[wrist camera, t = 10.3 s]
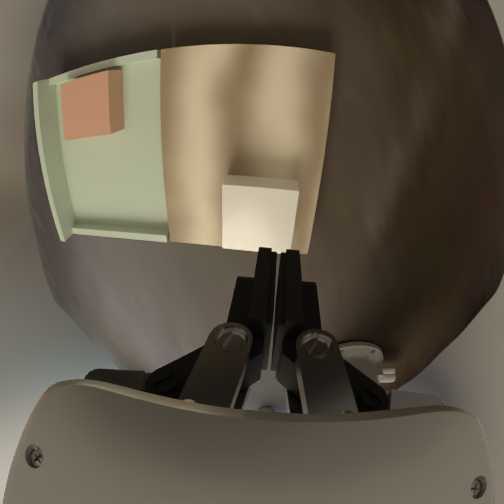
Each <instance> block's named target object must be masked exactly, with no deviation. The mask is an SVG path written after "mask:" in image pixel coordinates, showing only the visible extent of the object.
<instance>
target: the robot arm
mask: <svg viewBox="0 0 504 504" xmlns="http://www.w3.org/2000/svg"><path fill="white" fill-rule="evenodd" d="M276 260H277V252H273V251H272V248H267V247H259V250H258V257H257V263H256V270H255V276H254V278H252V277H241V276H238V277H237V281H236V285H235V290H234V294H233V298H232V302H231V307H230V311H229V315H228V320H227V323H223V324H221V325H218V326H217V327H215V328H214V329H213V330H212V331H211V333H210V334H209V336H208V338H207V340H206V342H205V344H204V346H202V347H200V348H198V349H196V350H195V351H193V352H191V353H189V354H187V355H185V356H183V357H181V358H179V359H177V360H175V361H173V362H171V363H169V364H167V365H165V366H163V367H161V368H159V369H157V370H155V371H154V372H152V373H145V371H135V370H114V369H94V370H92V371H90V372H89V373H88V374H87V375H86V376H85V378H84V379H74V380H65V381H61V382H57V383H55V384H53V385H52V386H50V387H49V388H48V389H47V390H46V391H45V392H44V394H43V395H42V396H41V398H40V399H39V401H38V402H37V404H36V406H35V408H34V409H33V412H32V413H31V415H30V417H29V419H28V422H27V424H26V426H25V428H24V430H23V433H22V435H21V438H20V441H19V443H18V446H17V449H16V452H15V455H14V458H13V461H12V464H11V468H10V471H9V475H8V480H7V484H6V488H5V493H4V499H3V504H495V492H494V478H493V468H492V462H491V457H490V451H489V447H488V443H487V439H486V436H485V433H484V430H483V427H482V425H481V423H480V421H479V419H478V418H477V417H476V416H475V415H474V414H473V413H471V412H470V411H468V410H465V409H462V408H458V407H454V406H447V405H444V403H443V401H442V400H441V398H439V397H438V396H437V395H434V394H426V393H416V392H408V391H400V390H391V391H390V392H388V391H385V390H384V389H383V388H382V387H381V386H380V382H385V383H387V382H394V381H395V377H396V376H395V367H394V366H391V367H383V366H382V362H383V353H382V350H381V349H380V348H379V347H378V346H377V345H375V344H372V343H369V342H348V343H343V344H339V345H338V342H337V340H336V339H335V337H334V336H333V335H332V334H330V333H328V332H327V331H324V330H321V321H320V312H319V303H318V294H317V286H316V283H315V282H304V281H302V278H301V263H300V251H299V250H292V249H286V252H281V256H280V266H279V276H278V285H277V294H276V303H275V319H274V335H273V350H272V364H271V370H273V371H276V378H277V381H278V382H280V383H281V384H282V385H283V386H284V387H285V388H284V393H285V401H286V408H287V413H275V412H261V411H250V410H243V409H244V406H245V403H246V400H247V397H248V394H249V391H250V385H252V384H253V383H255V382H256V381H258V380H259V379H260V375H261V370H267V364H268V356H269V348H270V340H271V332H272V324H273V312H274V296H275V278H276Z"/></svg>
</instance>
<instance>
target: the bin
mask: <svg viewBox="0 0 504 504" xmlns="http://www.w3.org/2000/svg"><path fill="white" fill-rule="evenodd" d="M160 64H161V50H152V51H146V52H140V53H135V54H130V55H125V56H121V57H117V58H113V59H109V60H105V61H101V62H97V63H94V64H91V65H87V66H84V67H81V68H78V69H75V70H72V71H69V72H66V73H63V74H61V75H58V76H55V77H53V78H50V79H46V80H41V81H37V82H34V83H33V99H34V115H35V125H36V134H37V142H38V149H39V155H40V161H41V166H42V172H43V177H44V181H45V186H46V190H47V194H48V199H49V202H50V206H51V210H52V214H53V217H54V221H55V224H56V227H57V231H58V234H59V237H60V240H61V241H66V240H67V239H68V238H69V237H70V236H71V235H72V234H83V235H94V236H105V237H116V238H127V239H138V240H149V241H159V242H168V240H169V238H170V234H169V226H168V217H167V208H166V198H165V187H164V175H163V161H162V143H161V117H160ZM107 70H123V109H124V128H125V129H123V130H120V131H118V132H115V133H113V134H109V135H100V136H93V137H86V138H79V139H73V140H67V141H65V139H64V131H63V120H62V107H61V84H63V83H66V82H69V81H72V80H75V79H78V78H81V77H85V76H88V75H92V74H96V73H99V72H103V71H107Z"/></svg>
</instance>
